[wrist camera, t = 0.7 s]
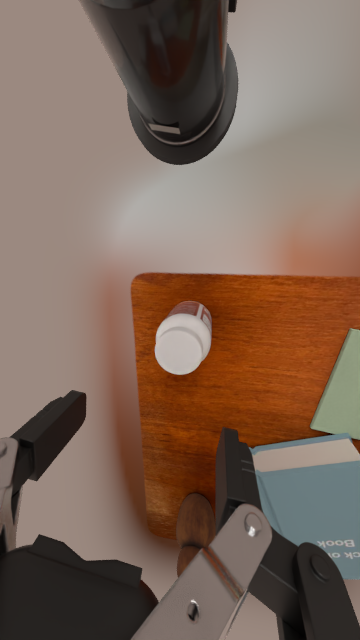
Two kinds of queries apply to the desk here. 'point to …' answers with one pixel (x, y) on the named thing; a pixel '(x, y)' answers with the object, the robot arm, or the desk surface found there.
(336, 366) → the mat
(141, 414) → the desk surface
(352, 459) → the book
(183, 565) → the wooden figurine
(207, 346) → the pill bottle
